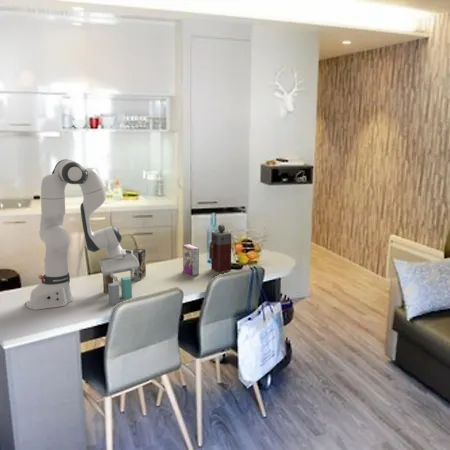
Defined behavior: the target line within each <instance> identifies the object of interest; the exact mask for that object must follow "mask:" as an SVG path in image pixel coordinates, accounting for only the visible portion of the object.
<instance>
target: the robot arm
mask: <svg viewBox="0 0 450 450" xmlns="http://www.w3.org/2000/svg"><path fill="white" fill-rule="evenodd" d="M67 184H69V185H79V187H80V189H81V192H82V196H83V200H82V203H81V204H80V207H79V208H80V216H81V217H80V219H81V222H82V229H83V235H84V236H83V237H84V242H83V243H84V246H85V248H86V249H87V251H90V252H92V253H95V252H96V253H97V251H100V250H101V249H102V250H103V249H104V250H105V253H106V257H105V258H100V259H99V260H98V265H99V267H100V270H101V271H100V272H101V274H102V276H103V275H104V276H105V275H110V276H111V277H112V278H113V282H116V281H118V279H119V278H118V276H115V274H120V273H126V272H130V271H131V272H132V274H131V272H130V278H133V277H134V276H135V275H134V270H137V269H138V268H139V262H138V260H137V258H136V256H134V255H133V250H130V249H123V247H122V246H121V242H122V239H123V238H122V235H121V234H120V230H119V228H118V227H117V226H115V225H111V226H110V225H109V226H107V227H104V228H101V229H98V230H95V231H93V230H92V225H91V216H92V214H93V213H94V212H95V211H96V210H97V209H99V208H100V207H101V206H102V205H103V204H104V203H105V201H106V199H107V193H106V189H105V186H104V183H103V180H102V178H101V176H100V174H99V172H98V171H97V169H95V168H92V167H86V168H85V167H83V166H82V165H81V164H80V163H78V162H76V161H75V160H72V159H68V158H66V159H61V160H60V161H58V162H57V163H56V164H55V166H54V168H53V170H52V172H51V174H47V175H46V176H43V178H42V180H41V185H40V186H41V187H40V202H41V203H40V205H41V217H40V224H39V225H40V226H39V232H38V233H39V237H40V239H41V241H42V242H43V243H44V244H45V253H44V254H45V255H44V259H43V262H44V275H43V274H39V275H38V277H37V278H38V279H39V280H40V281H41V282H40V283H39V284H38V285H37V286H35V288H33V289H32V290H31V292H30V297H29V299H27V300H26V301H25V306H26V308H28V309H30V310H33V311H37V310H43V309H45V310H46V309H53V308H57V307H58V308H60V307H65V306H67V305H68V304H69V303H71V302H72V301H73V300H74V297H73V295H72V291H71V287H70V282H71V276H70V272H69V263H68V261H69V259H68V256H69V250H70V249H69V247H70V243H71V237H70V234H69V232H68V231H67V230H66V229H65V228H64V218H65V215H66V193H65V190H66V186H67Z"/></svg>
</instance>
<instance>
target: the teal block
mask: <svg viewBox="0 0 450 450" xmlns="http://www.w3.org/2000/svg"><path fill="white" fill-rule="evenodd" d="M132 281H133V280H132V279H131V277H129V276H126V277H121V278H120V283H121V284H120V286H121V287H120V288H121V289H120V290H121V291H120V293H121V298H123V299H125V300H127V299H130V298H131V299H132V298H133V289H132V288H133V287H132V286H133V284H132Z"/></svg>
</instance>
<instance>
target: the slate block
mask: <svg viewBox="0 0 450 450" xmlns="http://www.w3.org/2000/svg"><path fill="white" fill-rule="evenodd" d="M108 292H109V294H108V303H109V304H110V305H111V306H115V304H116V305H118V304H117V303H119V302H120V284H118V283H117V282H113V283H111V284H108ZM120 303H121V302H120Z"/></svg>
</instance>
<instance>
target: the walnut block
mask: <svg viewBox="0 0 450 450" xmlns="http://www.w3.org/2000/svg"><path fill="white" fill-rule="evenodd" d="M102 283H103V284H102V287H103V293H104V294H107V295H109V292H108V284H111V283H114V279H113V278H112V277H111V276H110V275H105V276H104V275H103V274H102Z"/></svg>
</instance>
